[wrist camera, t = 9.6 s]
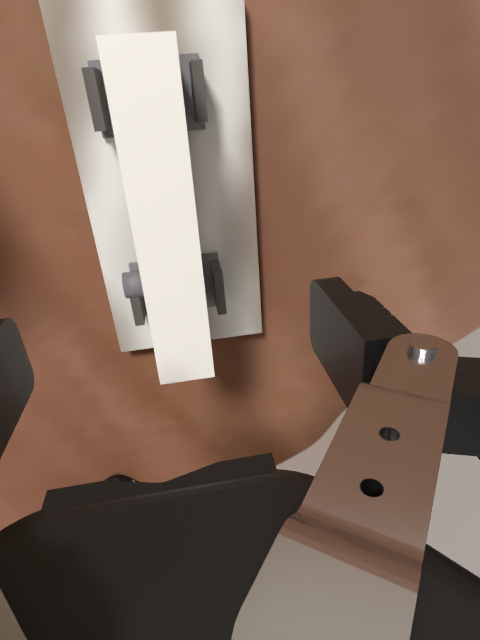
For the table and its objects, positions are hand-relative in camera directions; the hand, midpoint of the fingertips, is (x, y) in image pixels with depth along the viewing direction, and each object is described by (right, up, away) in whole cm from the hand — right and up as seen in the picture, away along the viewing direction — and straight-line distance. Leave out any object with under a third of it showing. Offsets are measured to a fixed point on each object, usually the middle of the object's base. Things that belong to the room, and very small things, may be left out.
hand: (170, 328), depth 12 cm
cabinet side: (-3, +9, +18) cm, 20 cm away
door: (-3, +8, +16) cm, 18 cm away
